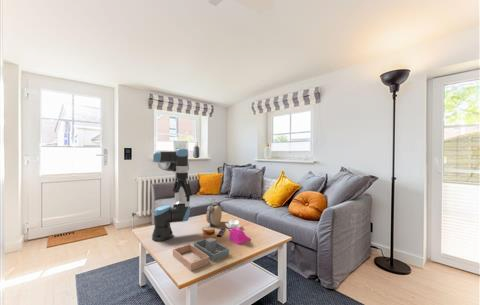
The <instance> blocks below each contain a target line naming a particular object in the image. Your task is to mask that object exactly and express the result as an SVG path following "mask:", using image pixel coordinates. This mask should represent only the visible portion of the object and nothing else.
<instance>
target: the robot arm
mask: <svg viewBox="0 0 480 305" xmlns="http://www.w3.org/2000/svg"><path fill="white" fill-rule="evenodd" d="M152 157H153V159H152V160H153V162H154V163H157V166H158V168H159V169H161V170H162V171H165V172H172V173H173V175H174V181H175V182H174V184H173V189H172V192H174V204H173V205H172V206H173V207H171V205H161V206H158V207H156V208H155V209H154V227H153V232H152V234H151V239H152V240H153V241H166V240H168V239H171V238H172V237H173V236H174V234H173V230H172V226H171V223H172V224H173V223H174V224H175V223H183V222H188V221H189V218H190V212H191V206H190V200H191V196H193V193H192V190H191V189H192V188H191V185H190V180H187V179H189V170H190V167H189V165H190V164H189V150H188V148H177V149H176V151H175V150H174V151H173V150H171V151H164V150H163V151H161V150H158V151H153V155H152Z"/></svg>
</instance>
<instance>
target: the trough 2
mask: <svg viewBox="0 0 480 305" xmlns="http://www.w3.org/2000/svg"><path fill="white" fill-rule="evenodd" d="M209 238H210V237H207V238H203V239H201V240H197V241H194V242H193V246H194V247H196V248H197V249H199V250H200V251H202V252H203V253H205V254H206V255H208V256H209V261H212V262H215V261H218V260H220V259H223V258H225V257H228V256H230V249H229V248H228V247H226V246H225V245H223V244H221V243H219V242H217V241H216V250H219V251H218V252H215V253H211V252H209V251H207V250H206V248H204V247H203V246H206V239H209Z"/></svg>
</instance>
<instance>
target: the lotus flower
mask: <svg viewBox="0 0 480 305" xmlns="http://www.w3.org/2000/svg"><path fill="white" fill-rule="evenodd" d="M224 225H225V227H226V228H227V230H229V231H230V230H232V229H234V228H239V229H241V228H242V226H241V225H240V222H239V220H238V219H237V220H236V219H235V220H234V218H230V219H229V220H228V222H225V223H224Z"/></svg>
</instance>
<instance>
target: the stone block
mask: <svg viewBox="0 0 480 305" xmlns="http://www.w3.org/2000/svg"><path fill="white" fill-rule="evenodd" d="M208 238H209V239H207V238H205V239H206V245H205V249H206V250H207V251H209V252H211V253H212V254H216V253H217V249H216V242H217V239H215V238H214V237H208Z"/></svg>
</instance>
